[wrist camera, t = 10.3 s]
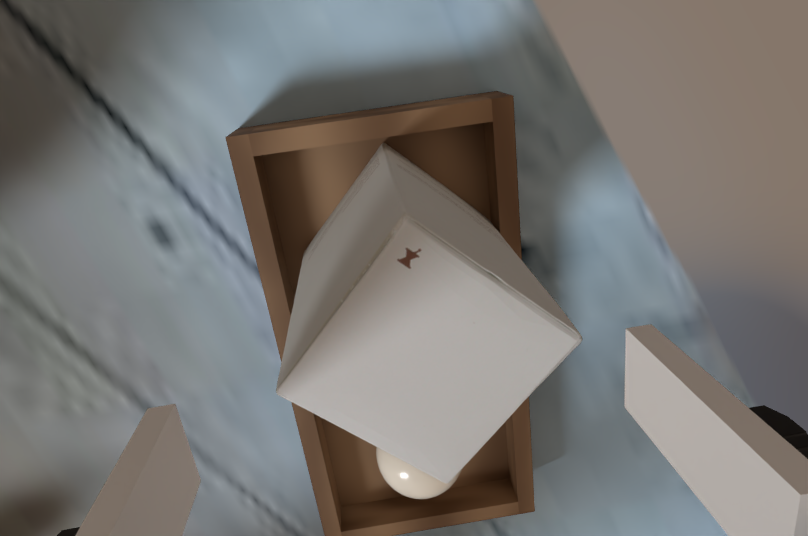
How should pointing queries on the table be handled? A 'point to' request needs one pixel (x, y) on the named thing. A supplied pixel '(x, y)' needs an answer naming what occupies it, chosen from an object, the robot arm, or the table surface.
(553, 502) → the table surface
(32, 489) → the table surface
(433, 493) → the white ball
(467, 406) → the supplement box
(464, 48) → the table surface
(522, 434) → the caddy
